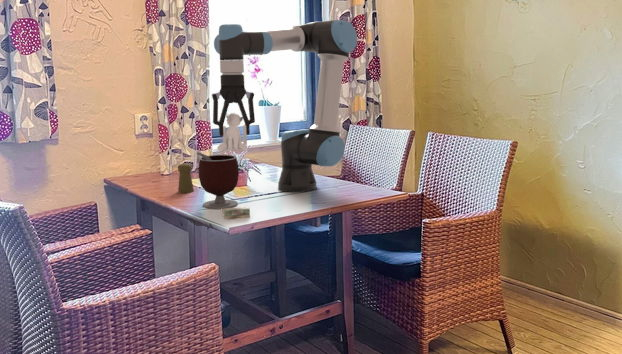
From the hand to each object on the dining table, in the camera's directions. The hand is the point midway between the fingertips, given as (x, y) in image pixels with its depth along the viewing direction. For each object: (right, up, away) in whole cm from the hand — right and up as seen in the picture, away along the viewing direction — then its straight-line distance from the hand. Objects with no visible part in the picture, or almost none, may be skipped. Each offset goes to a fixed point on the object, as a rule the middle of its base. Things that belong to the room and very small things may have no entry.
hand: (234, 145), depth 205 cm
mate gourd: (-8, -21, +16) cm, 27 cm away
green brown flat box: (0, -23, +3) cm, 23 cm away
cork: (-24, -16, +41) cm, 50 cm away
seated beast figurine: (0, -2, 0) cm, 2 cm away
